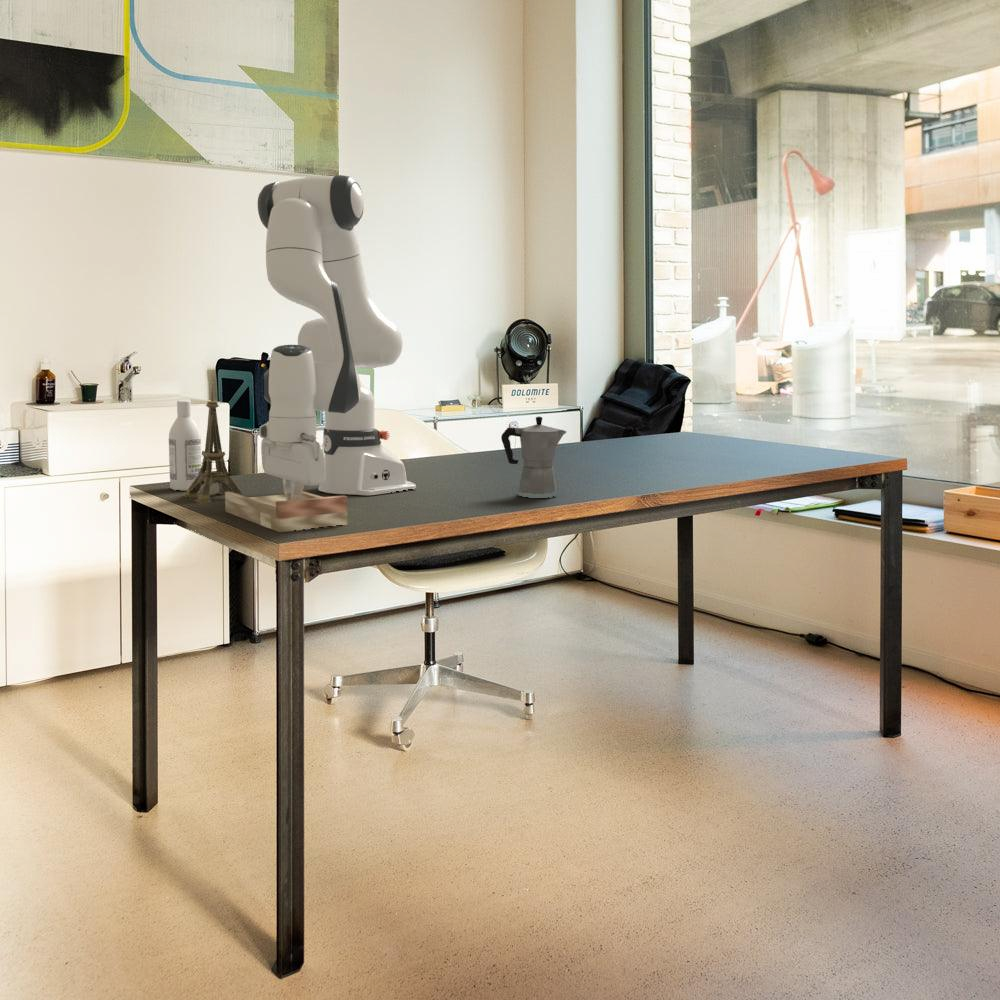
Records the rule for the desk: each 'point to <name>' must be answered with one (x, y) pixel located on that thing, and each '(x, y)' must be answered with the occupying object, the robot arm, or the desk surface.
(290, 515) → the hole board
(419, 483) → the desk surface
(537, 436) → the coffeepot
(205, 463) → the eiffel tower
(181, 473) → the bath foam
